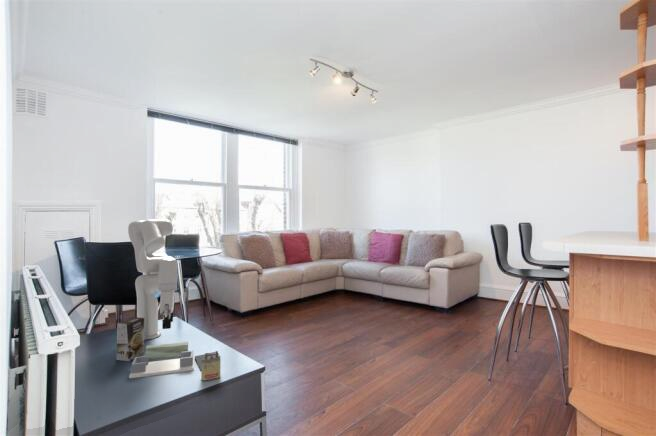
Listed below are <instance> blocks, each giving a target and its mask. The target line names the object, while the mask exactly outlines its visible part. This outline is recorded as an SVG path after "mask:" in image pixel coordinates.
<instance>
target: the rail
mask: <svg viewBox="0 0 656 436" xmlns="http://www.w3.org/2000/svg"><path fill="white" fill-rule="evenodd" d="M184 351H189V341H181V342H172V343H164V344H163V343H161V344H153V345H152V344H151V345H146V346H145V347H144V356H148V361H149V360H158V359H167V358H175V357H181V352H184Z"/></svg>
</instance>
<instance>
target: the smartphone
mask: <svg viewBox="0 0 656 436" xmlns="http://www.w3.org/2000/svg"><path fill="white" fill-rule="evenodd" d="M194 357H195V359H194V361H195V363H196V365H197V366H198V368H199V371H200V372H202V358H204V357H205V353H204V354H200V355H194Z"/></svg>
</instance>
